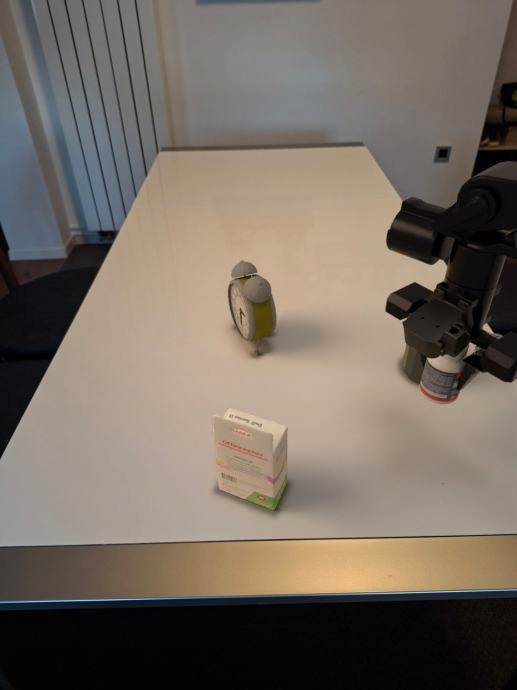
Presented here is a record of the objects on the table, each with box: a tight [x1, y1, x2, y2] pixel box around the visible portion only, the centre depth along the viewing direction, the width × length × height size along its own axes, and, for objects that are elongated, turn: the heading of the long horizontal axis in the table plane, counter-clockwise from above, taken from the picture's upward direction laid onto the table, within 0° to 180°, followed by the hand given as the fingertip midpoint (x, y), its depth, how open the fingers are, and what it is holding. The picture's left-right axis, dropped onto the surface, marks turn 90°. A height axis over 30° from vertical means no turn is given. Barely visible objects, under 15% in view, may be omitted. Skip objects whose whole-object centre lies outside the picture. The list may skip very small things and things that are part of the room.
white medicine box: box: [212, 407, 289, 511], centre depth 64 cm, size 9×5×15 cm, turn 65°
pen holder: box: [401, 343, 424, 385], centre depth 85 cm, size 9×9×7 cm
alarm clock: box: [227, 259, 277, 355], centre depth 91 cm, size 12×7×15 cm, turn 23°
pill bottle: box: [418, 343, 470, 405], centre depth 66 cm, size 5×5×9 cm
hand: (442, 377), depth 67 cm, fingers closed on pill bottle, 5 cm apart
